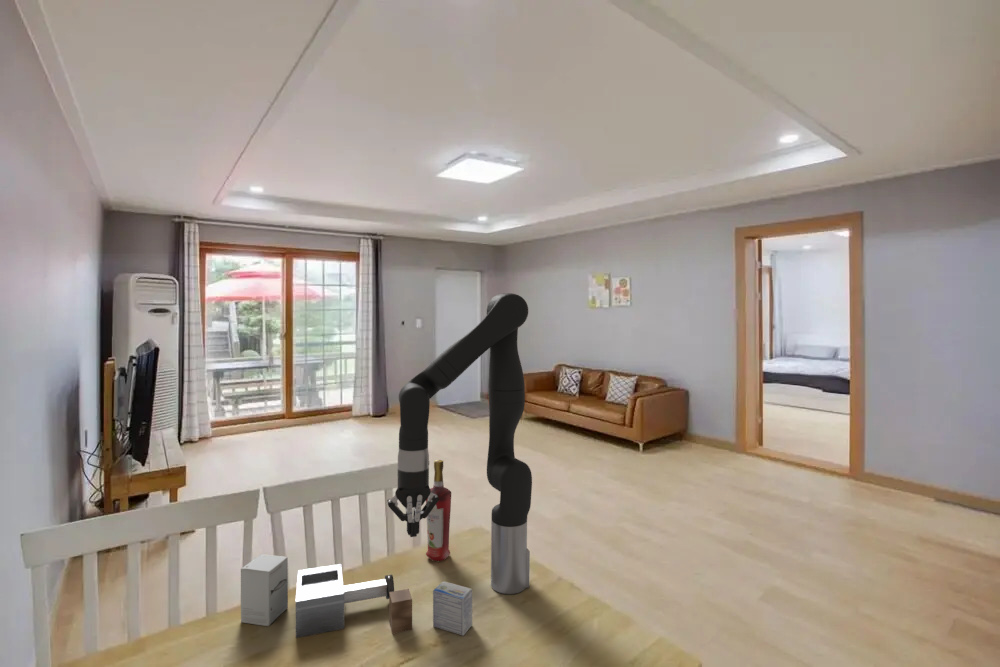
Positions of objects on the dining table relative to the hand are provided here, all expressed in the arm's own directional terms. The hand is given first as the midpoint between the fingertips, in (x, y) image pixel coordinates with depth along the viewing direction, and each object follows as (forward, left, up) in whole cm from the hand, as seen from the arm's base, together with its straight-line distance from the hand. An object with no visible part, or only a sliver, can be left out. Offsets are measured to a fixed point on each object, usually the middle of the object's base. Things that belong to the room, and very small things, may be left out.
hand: (412, 535), depth 124 cm
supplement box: (+33, -4, -16) cm, 37 cm away
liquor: (-11, -18, -16) cm, 26 cm away
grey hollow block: (+21, 0, -16) cm, 27 cm away
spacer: (+4, +10, -16) cm, 19 cm away
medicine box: (-7, +14, -16) cm, 22 cm away
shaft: (+12, 0, -14) cm, 19 cm away
